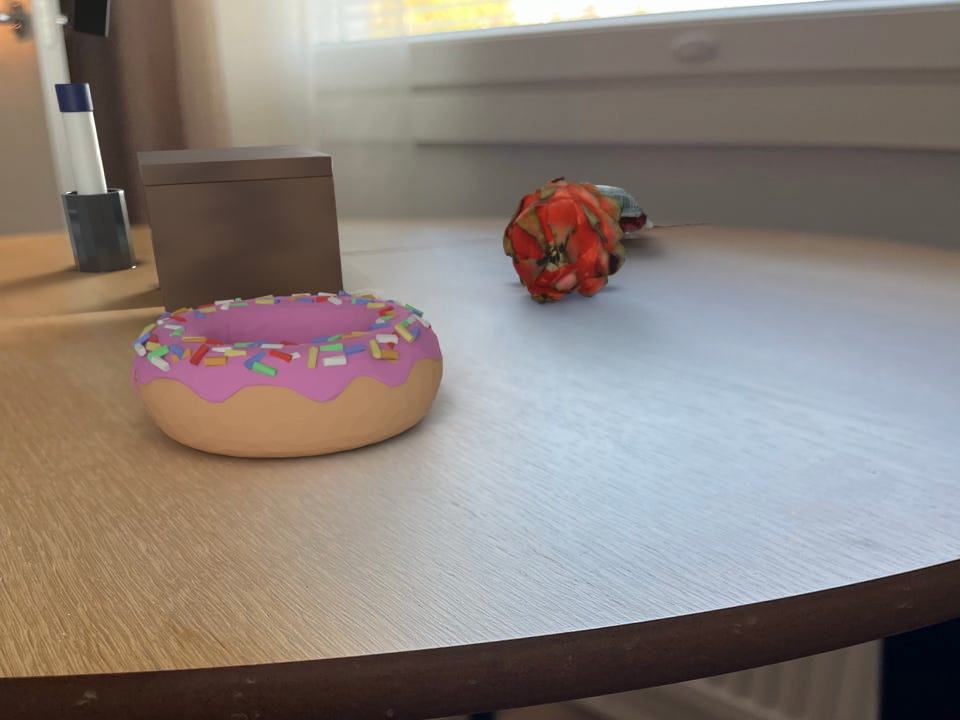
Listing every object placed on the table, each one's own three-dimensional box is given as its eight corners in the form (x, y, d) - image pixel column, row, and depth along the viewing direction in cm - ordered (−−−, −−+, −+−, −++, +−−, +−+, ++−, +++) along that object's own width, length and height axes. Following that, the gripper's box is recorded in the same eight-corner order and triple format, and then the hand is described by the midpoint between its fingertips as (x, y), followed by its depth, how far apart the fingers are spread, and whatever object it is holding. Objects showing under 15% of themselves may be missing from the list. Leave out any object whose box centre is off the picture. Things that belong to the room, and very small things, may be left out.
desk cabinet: (168, 329, 68) (140, 165, 64) (160, 292, 80) (136, 152, 75) (345, 313, 71) (331, 155, 67) (312, 280, 83) (299, 144, 78)
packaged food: (524, 235, 102) (524, 181, 100) (643, 232, 102) (646, 178, 99) (524, 250, 95) (524, 192, 92) (653, 247, 94) (656, 189, 92)
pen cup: (76, 279, 86) (59, 196, 83) (78, 270, 91) (62, 190, 87) (138, 275, 88) (123, 192, 85) (137, 266, 92) (123, 187, 89)
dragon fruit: (587, 300, 81) (561, 359, 72) (499, 234, 79) (461, 286, 70) (654, 209, 76) (636, 261, 67) (562, 136, 74) (530, 179, 65)
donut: (429, 374, 57) (425, 279, 54) (462, 458, 44) (458, 340, 42) (164, 390, 55) (147, 293, 53) (120, 482, 43) (95, 361, 40)
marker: (90, 270, 88) (53, 84, 81) (91, 265, 90) (55, 84, 83) (122, 267, 88) (88, 83, 81) (122, 263, 90) (88, 83, 84)
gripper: (63, -420, 64) (42, -40, 70) (176, -210, 88) (154, 60, 94) (-58, -447, 64) (-69, -62, 70) (88, -228, 88) (72, 44, 94)
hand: (59, 9), depth 82 cm, fingers open, 13 cm apart
